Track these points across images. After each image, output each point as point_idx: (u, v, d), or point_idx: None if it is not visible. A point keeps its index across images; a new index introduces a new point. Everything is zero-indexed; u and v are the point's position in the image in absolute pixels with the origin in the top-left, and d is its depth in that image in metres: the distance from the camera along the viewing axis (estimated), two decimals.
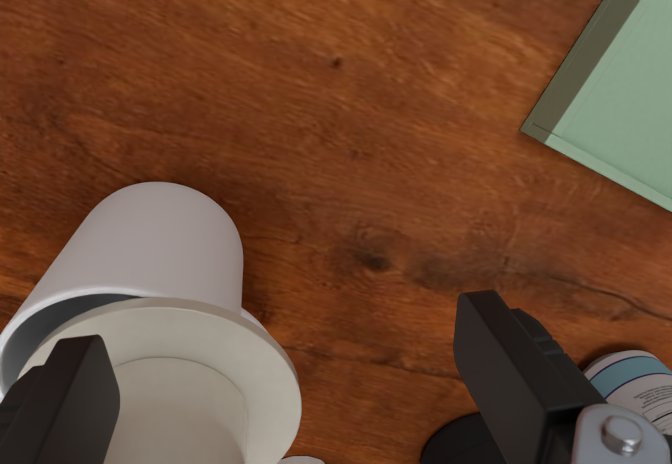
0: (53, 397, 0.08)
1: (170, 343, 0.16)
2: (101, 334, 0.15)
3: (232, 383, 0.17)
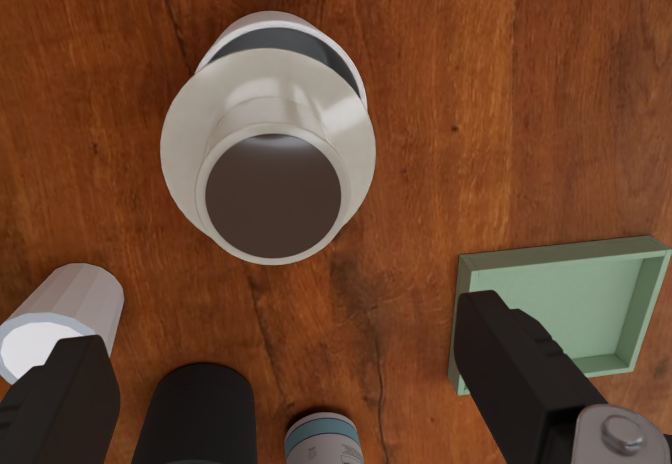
0: (53, 397, 0.08)
1: (343, 137, 0.23)
2: (334, 91, 0.22)
3: None
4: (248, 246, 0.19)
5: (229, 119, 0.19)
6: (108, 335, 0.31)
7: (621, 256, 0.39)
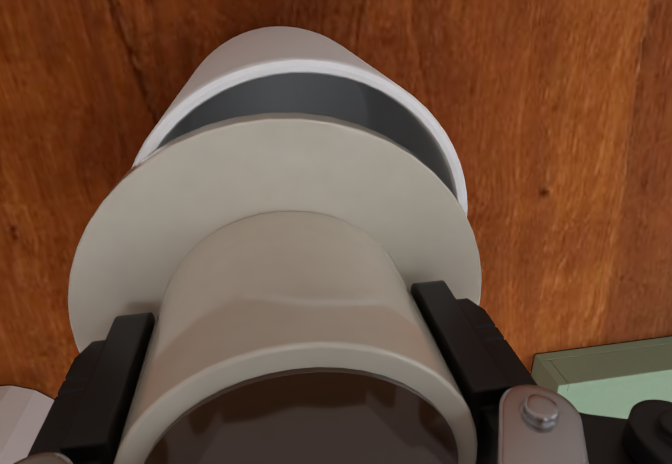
0: (120, 366, 0.09)
1: (425, 274, 0.12)
2: (413, 196, 0.11)
3: None
4: None
5: (200, 284, 0.09)
6: None
7: None
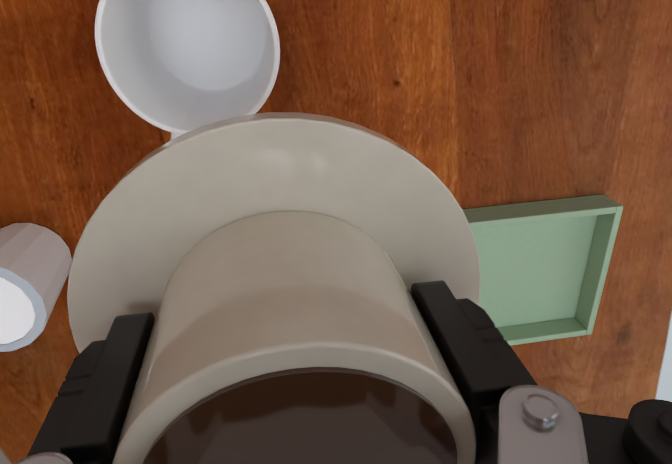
0: (120, 366, 0.09)
1: (424, 274, 0.12)
2: (412, 196, 0.11)
3: None
4: None
5: (199, 284, 0.09)
6: (47, 289, 0.31)
7: (571, 213, 0.39)
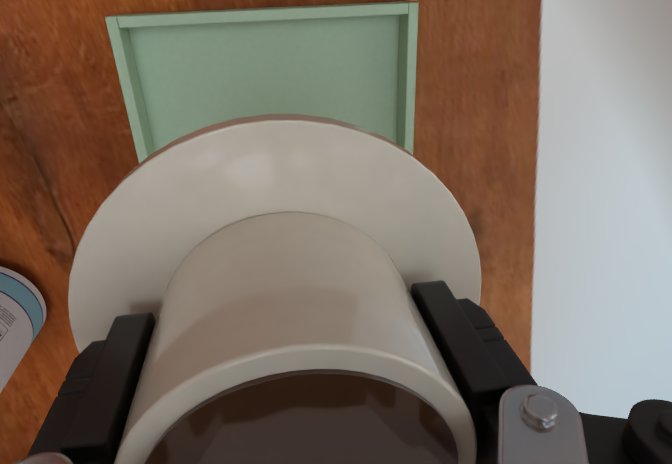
0: (120, 366, 0.09)
1: (425, 275, 0.12)
2: (413, 198, 0.11)
3: None
4: None
5: (200, 286, 0.09)
6: None
7: (340, 9, 0.27)
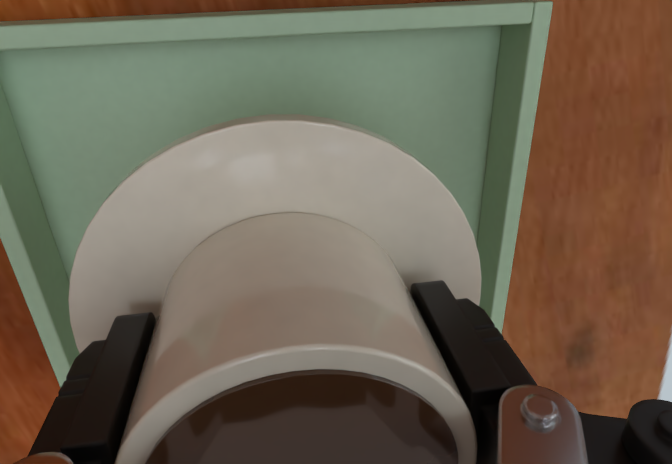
0: (120, 366, 0.09)
1: (425, 275, 0.12)
2: (413, 198, 0.11)
3: None
4: None
5: (200, 286, 0.09)
6: None
7: (403, 13, 0.14)
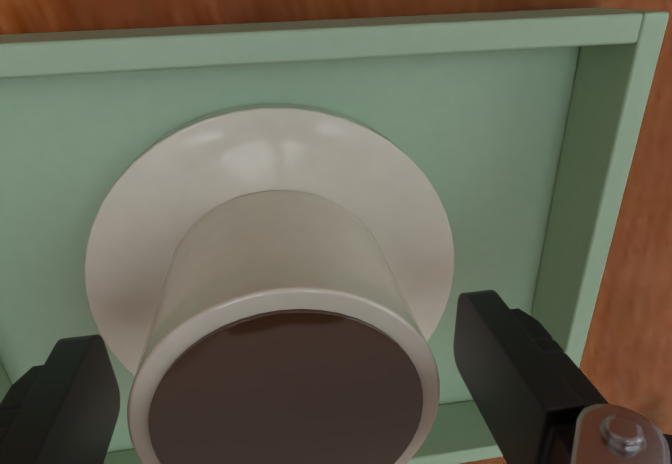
0: (53, 397, 0.08)
1: (403, 249, 0.13)
2: (391, 178, 0.12)
3: None
4: None
5: (202, 249, 0.10)
6: None
7: (461, 29, 0.10)
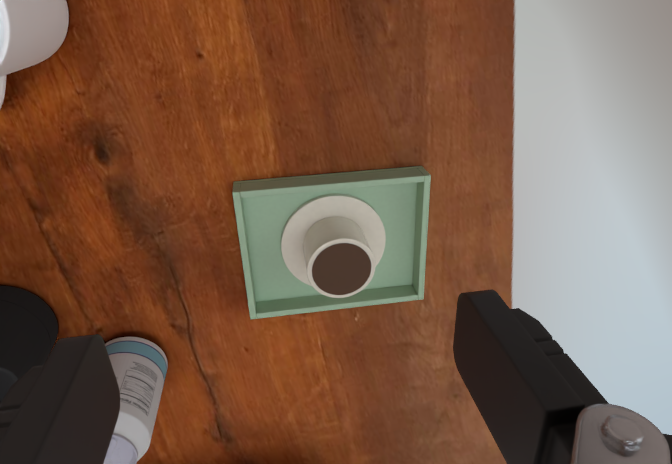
0: (53, 397, 0.08)
1: (370, 232, 0.46)
2: (365, 212, 0.44)
3: None
4: (328, 289, 0.42)
5: (319, 231, 0.42)
6: None
7: (380, 181, 0.42)
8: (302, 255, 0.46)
